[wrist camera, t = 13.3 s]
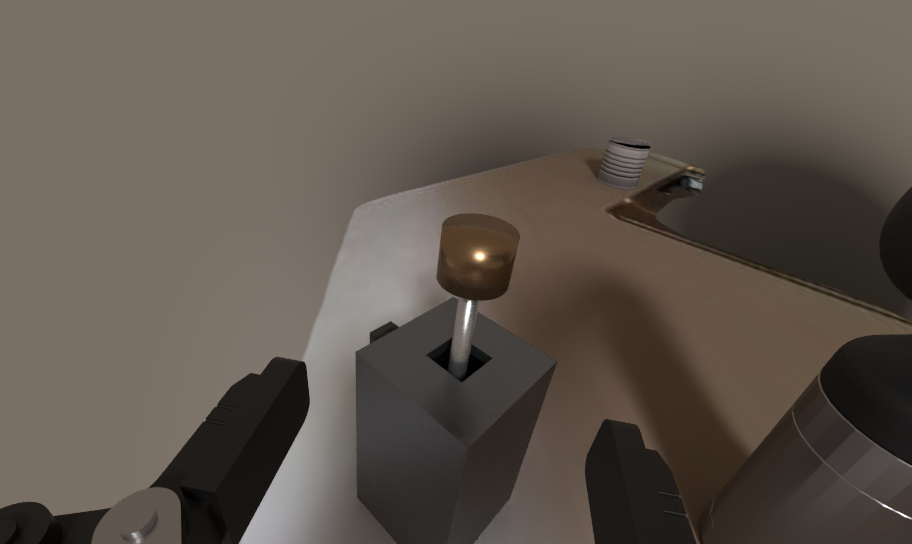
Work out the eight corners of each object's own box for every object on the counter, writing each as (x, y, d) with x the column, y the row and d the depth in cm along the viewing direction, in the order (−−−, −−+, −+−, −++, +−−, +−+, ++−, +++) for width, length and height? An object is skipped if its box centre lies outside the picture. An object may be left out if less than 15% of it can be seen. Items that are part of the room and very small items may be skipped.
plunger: (499, 466, 32) (568, 237, 21) (442, 529, 28) (493, 280, 17) (439, 415, 35) (472, 195, 25) (379, 464, 31) (388, 222, 20)
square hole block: (509, 498, 35) (557, 361, 26) (436, 588, 28) (468, 448, 20) (412, 412, 41) (425, 279, 32) (335, 472, 35) (327, 327, 26)
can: (608, 188, 110) (623, 143, 104) (589, 174, 120) (601, 132, 114) (645, 190, 113) (661, 146, 107) (623, 176, 122) (637, 135, 116)
